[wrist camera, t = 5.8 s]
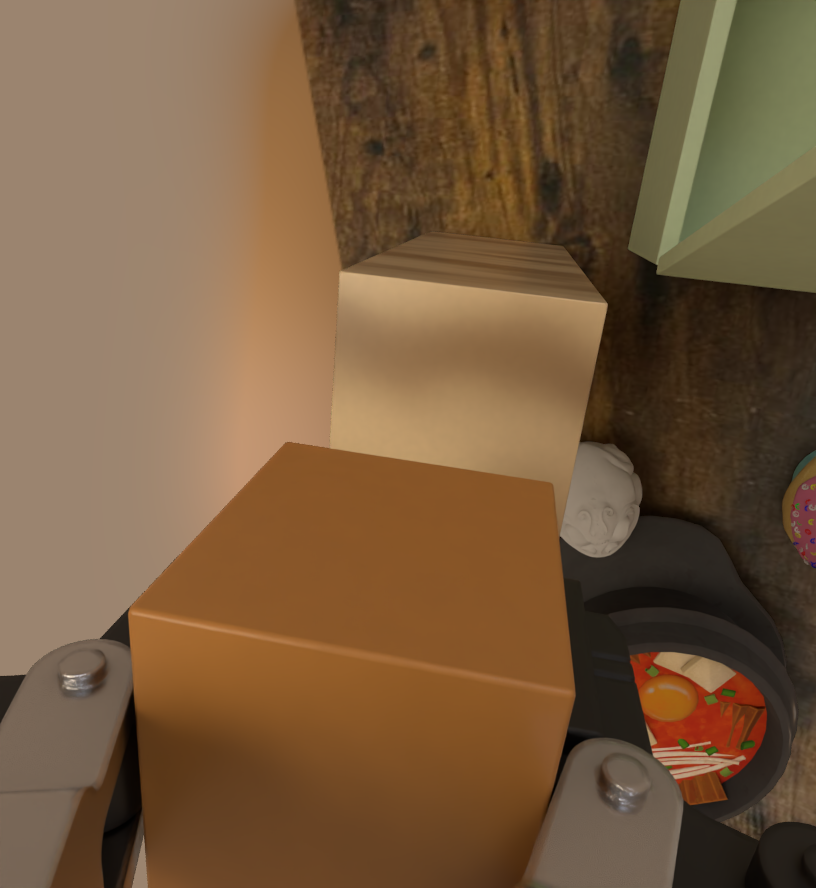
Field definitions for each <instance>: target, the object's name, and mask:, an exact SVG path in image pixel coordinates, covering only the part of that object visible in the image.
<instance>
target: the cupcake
mask: <svg viewBox="0 0 816 888" xmlns="http://www.w3.org/2000/svg"><path fill="white" fill-rule="evenodd" d="M782 513H783V526H784V529H785V531H786V533H787V535H788V536H789V538H790V540H791V542H792V543H793V545H794V546H795V547H796V549H797V550H798V552H799V554H800V556H801V557H802V558H803V559H804V561H805V563H806V564H807V565H809V564H811V565H812V567H814V568H816V450H815V451H813V452H812V453H810V454H809V455H807V456H806V457H805V458H804V459H803V460H802V461H801V462H800V463H799V464H798V466H797V467H796V469H795V471H794V473H793V477H792V482H791V484H790V485H789V487H788V489H787V490H786V492H785V495H784V498H783V502H782Z"/></svg>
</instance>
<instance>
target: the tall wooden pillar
mask: <svg viewBox="0 0 816 888" xmlns="http://www.w3.org/2000/svg"><path fill="white" fill-rule="evenodd" d="M607 307H608V304H607V302H606V301H605V300H604V298H603V297H602V296H601V295H600V293H599V292H598V291H597V289H596V288H595V287H594V285H593V284H592V283H591V282H590V280H589V279H588V278H587V276H586V275H585V274H584V273H583V271H582V270H581V269H580V267H579V266H578V265H577V263H576V262H575V261H574V260H573V258H572V257H571V256H570V254H569V253H568V252H567V251H566V249H565V248H564V247H563V246H559V245H550V244H541V243H532V242H524V241H515V240H506V239H497V238H488V237H479V236H470V235H462V234H453V233H444V232H435V231H431V232H429V233H426V234H424V235H422V236H419V237H417V238H415V239H413V240H410V241H408V242H406V243H403V244H401V245H399V246H397V247H394V248H392V249H390V250H387V251H385V252H383V253H381V254H378V255H376V256H374V257H371V258H369V259H367V260H365V261H362V262H360V263H358V264H355V265H353V266H351V267H349V268H346V269H344V270H342V271H340V272H339V289H338V308H337V324H336V343H335V360H334V378H333V395H332V412H331V430H330V448H331V449H338V450H344V451H350V452H357V453H363V454H370V455H376V456H383V457H389V458H396V459H402V460H409V461H415V462H422V463H428V464H435V465H441V466H448V467H454V468H461V469H467V470H474V471H480V472H487V473H493V474H500V475H506V476H513V477H519V478H526V479H532V480H538V481H545V482H550V483H552V484H553V487H554V496H555V505H556V514H557V524H558V533H559V537H560V532H561V528H562V523H563V518H564V513H565V509H566V504H567V499H568V494H569V489H570V485H571V480H572V475H573V470H574V465H575V461H576V456H577V451H578V446H579V441H580V437H581V432H582V427H583V422H584V417H585V413H586V408H587V403H588V398H589V393H590V389H591V384H592V379H593V374H594V370H595V365H596V360H597V355H598V350H599V346H600V341H601V336H602V331H603V326H604V322H605V317H606V312H607Z"/></svg>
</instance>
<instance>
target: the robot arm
mask: <svg viewBox="0 0 816 888" xmlns="http://www.w3.org/2000/svg"><path fill="white" fill-rule="evenodd" d="M167 568H168V567H167ZM167 568H166V569H167ZM166 569H165V570H166ZM165 570H164V571H165ZM164 571H163V572H164ZM163 572H162V573H163ZM563 580H564V589H565V599H566V608H567V617H568V627H569V636H570V645H571V655H572V664H573V673H574V683H575V692H576V697H575V701H574V705H573V709H572V713H571V717H570V721H569V725H568V729H567V734H566V738H565V742H564V746H563V750H562V754H561V758H560V762H559V766H558V770H557V774H556V779H555V783H554V787H553V791H552V795H551V799H550V803H549V807H548V811H547V814H546V816H545V819H544V822H543V824H542V827H541V830H540V832H539V835H538V838H537V840H536V843H535V846H534V848H533V851H532V854H531V857H530V859H529V862H528V865H527V867H526V870H525V873H524V875H523V878H522V880H521V882H520V883H519V882H517V883H516V885H515V886H514V888H816V827H815V826H812V825H809V824H804V823H799V822H782V823H778V824H775V825H772V826H771V827H769V828H768V829H766V830H765V832H764V833H763V834H762V836H761V838H760V841H758V840H756V839H754V838H752V837H750V836H748V835H745V834H743V833H741V832H739V831H737V830H735V829H733V828H731V827H728V826H726V825H724V824H722V823H720V822H718V821H716V820H714V819H712V818H710V817H708V816H706V815H704V814H703V813H701V812H700V811H698V810H697V809H695V808H693V807H692V806H691V805H690V804H688V803H687V802H686V801H684V800H683V798H682V793H681V790H680V788H679V785H678V783H677V782H676V780H675V778H674V777H673V775H672V774H671V773H670V771H669V770H668V769H667V768H666V767H665V766H664V765H663V764H662V763H661V762H660V761H659V760H658V759H656V758H655V757H654V756H653V752H652V748H651V744H650V740H649V735H648V731H647V727H646V722H645V718H644V714H643V710H642V705H641V701H640V697H639V692H638V688H637V684H636V683H635V675H634V671H633V667H632V664H630V661H631V658H630V654H629V650H628V645H627V641H626V637H625V635H624V634H623V633H622V632H621V630H620V629H619V628H618V627H617V625H616V624H615V623H614V622H613V620H612V619H611V618H610V617H609V615H605V614H600V613H594V612H588V611H585V608H584V601H583V595H582V588H581V583H580V581H579V580H575V579H569V578H563ZM149 587H150V586H149ZM149 587H148V588H149ZM144 592H145V591H144ZM132 605H133V604H132ZM130 607H131V606H130ZM130 607H129V608H128V610H127V611H126V612H125V613H124V614H123V615H122V616H121V617H120V618H119V619H118V620H117V621H116V622H115V623H114V624H113V625H112V626H111V627H110V629H109V630H108V631H107V632H106V633H105V634H104V635H103V636H102V637H101V638H100V639H91V640H83V641H78V642H74V643H70V644H67V645H65V646H62V647H60V648H57V649H55V650H53V651H51V652H50V653H48V654H46V655H45V656H43V657H42V658H41V659H39V660H38V661H37V662H36V663H35V664H34V665H33V666H32V667H31V668H30V670H29V671H28V673H27V674H26V675H15V676H0V888H132V884H133V879H134V874H135V871H136V866H137V862H138V857H139V853H140V848H141V844H142V840H143V835H144V826H143V812H142V798H141V785H140V771H139V757H138V743H137V730H136V716H135V702H134V688H133V674H132V661H131V647H130V633H129V619H128V612H129V609H130Z"/></svg>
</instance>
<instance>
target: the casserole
mask: <svg viewBox="0 0 816 888" xmlns="http://www.w3.org/2000/svg"><path fill="white" fill-rule="evenodd" d="M559 542H560V552H561V561H562V570H563V578H569V579H575V580H579V581H580V583H581V588H582V595H583V601H584V608H585V611H588V612H594V613H600V614H605V615H609V617H610V618H611V619H612V620H613V622H614V623H615V624H616V625H617V627H618V628H619V629H620V630H621V632H622V633H623V634H624V635H625V637H626V641H627V645H628V650H629V654H630V658H631V661H630V664H632V667H633V671H634V675H635V683H636V684H637V688H638V692H639V697H640V701H641V705H642V710H643V714H644V718H645V722H646V727H647V731H648V735H649V740H650V744H651V748H652V752H653V756H654V757H655V758H656V759H658V760H659V761H660V762H661V763H662V764H663V765H664V766H665V767H666V768H667V769H668V770H669V771H670V773H671V774H672V775H673V777H674V778H675V780H676V782H677V783H678V785H679V788H680V790H681V793H682V798H683V800H684V801H686V802H687V803H688V804H690V805H691V806H692V807H693V808H695V809H697V810H698V811H700V812H701V813H703V814H704V815H706V816H708V817H710V818H712V819H714V820H716V821H718V822H722V821H725V820H727V819H729V818H732V817H734V816H737V815H739V814H741V813H742V812H744V811H746V810H747V809H749V808H750V807H752V806H753V805H755V804H757V803H758V802H759V801H760V800H761V799H762V798H763V797H765V796H766V795H767V794H768V793H769V792H770V791H771V790H772V789H773V788H774V786H775V785H776V783H777V782H778V780H779V779H780V778H781V776H782V775H783V773H784V771H785V769H786V766H787V763H788V760H789V758H790V755H791V746H792V742H793V739H794V737H795V734H796V731H797V722H798V710H799V709H798V704H797V698H796V693H795V688H794V686H793V684H792V682H791V680H790V677H789V675H788V673H787V671H786V665H787V661H786V656H785V650H784V645H783V640H782V638H781V636H780V634H779V632H778V630H777V627H776V625H775V623H774V621H773V619H772V618H771V617H770V615H769V614H768V613H767V612H766V610H765V609H764V608H763V607H762V606H761V604H760V603H759V602H758V601H757V600H756V598H755V597H754V596H753V595H752V594H751V592H750V591H749V590H748V589H747V588H746V586H745V585H744V584H743V583H742V582H741V580H740V578H739V576H738V573H737V571H736V569H735V567H734V565H733V563H732V561H731V559H730V557H729V555H728V554H727V552H726V550H725V548H724V546H723V545H722V543H721V541H720V539H719V538H717V537H716V536H715V535H713V534H712V533H710V532H709V531H708V530H706V529H705V528H704V527H702V526H700V525H697V524H693V523H690V522H687V521H684V520H681V519H675V518H667V517H658V516H639V517H638V521H637V524H636V526H635V528H634V529H633V531H632V533H631V535H630V536H629V538H628V539H627V540H626V541H625V543H624V544H623V545H622V546H621V547H620V548H619V549H618V550H617V551H616V552H614V553H613V554H611V555H609V556H606V557H590V556H587V555H585V554H583V553H581V552H579V551H578V550H576V549H575V548H573V547H572V546H570V545H569V544H568V543H567V542H566V541H565V540H564V539H563V538H560V539H559Z"/></svg>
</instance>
